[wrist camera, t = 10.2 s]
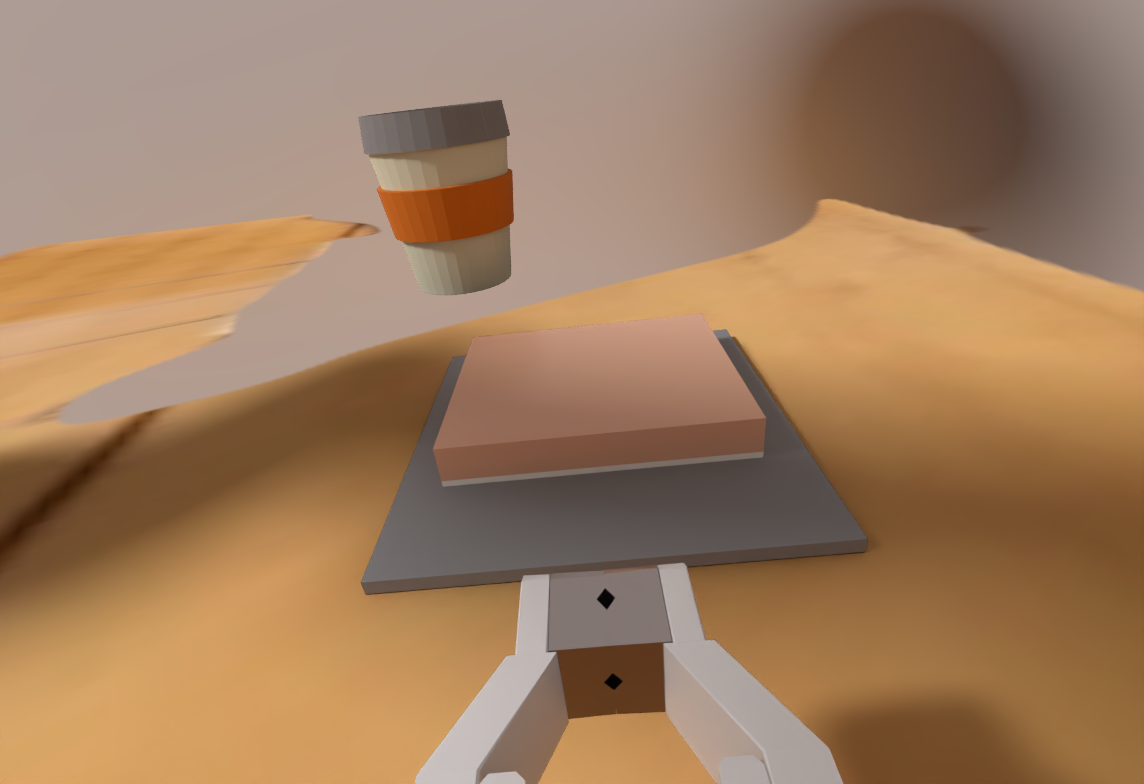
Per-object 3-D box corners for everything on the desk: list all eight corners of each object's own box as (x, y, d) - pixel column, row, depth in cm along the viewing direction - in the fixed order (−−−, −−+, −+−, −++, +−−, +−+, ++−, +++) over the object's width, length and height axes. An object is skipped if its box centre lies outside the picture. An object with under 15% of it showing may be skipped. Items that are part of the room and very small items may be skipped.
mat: (865, 551, 19) (868, 538, 19) (365, 594, 20) (360, 582, 20) (725, 337, 36) (726, 329, 36) (454, 364, 37) (452, 356, 36)
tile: (766, 417, 23) (702, 313, 33) (432, 449, 23) (472, 337, 34) (763, 457, 24) (701, 344, 34) (442, 486, 24) (478, 366, 35)
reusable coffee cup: (423, 266, 60) (386, 112, 53) (536, 256, 59) (515, 97, 52) (380, 307, 49) (327, 121, 42) (519, 296, 48) (489, 102, 41)
